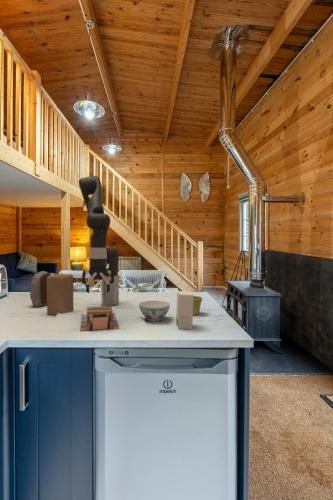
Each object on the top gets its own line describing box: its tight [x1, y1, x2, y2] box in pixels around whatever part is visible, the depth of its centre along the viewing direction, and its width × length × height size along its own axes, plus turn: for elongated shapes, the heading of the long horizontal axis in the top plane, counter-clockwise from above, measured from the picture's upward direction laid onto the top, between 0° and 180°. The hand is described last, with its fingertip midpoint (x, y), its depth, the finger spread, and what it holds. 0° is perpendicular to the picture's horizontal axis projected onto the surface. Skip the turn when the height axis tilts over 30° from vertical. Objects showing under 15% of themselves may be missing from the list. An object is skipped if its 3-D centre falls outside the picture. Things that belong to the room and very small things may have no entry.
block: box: [46, 273, 74, 316], centre depth 156 cm, size 10×10×20 cm
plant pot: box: [193, 295, 203, 316], centre depth 157 cm, size 9×9×9 cm
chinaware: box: [138, 300, 171, 322], centre depth 146 cm, size 15×15×8 cm
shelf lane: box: [79, 306, 120, 332], centre depth 137 cm, size 26×16×9 cm, turn 14°
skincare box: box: [175, 290, 195, 330], centre depth 134 cm, size 8×7×16 cm
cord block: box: [92, 314, 107, 331], centre depth 134 cm, size 18×6×5 cm, turn 14°
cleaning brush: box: [29, 270, 52, 307], centre depth 174 cm, size 15×8×20 cm, turn 160°
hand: (98, 292), depth 138 cm, fingers open, 8 cm apart
